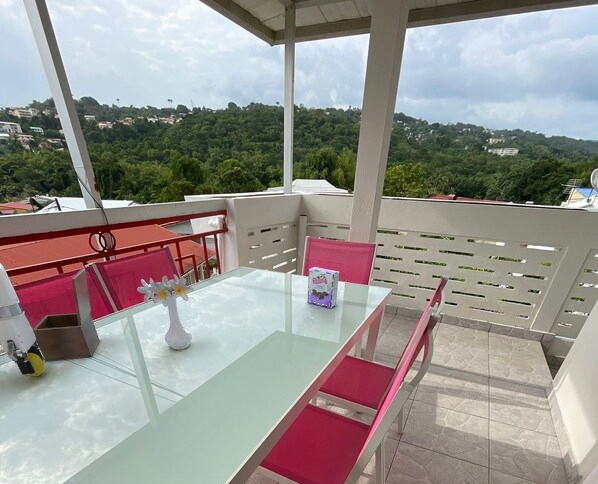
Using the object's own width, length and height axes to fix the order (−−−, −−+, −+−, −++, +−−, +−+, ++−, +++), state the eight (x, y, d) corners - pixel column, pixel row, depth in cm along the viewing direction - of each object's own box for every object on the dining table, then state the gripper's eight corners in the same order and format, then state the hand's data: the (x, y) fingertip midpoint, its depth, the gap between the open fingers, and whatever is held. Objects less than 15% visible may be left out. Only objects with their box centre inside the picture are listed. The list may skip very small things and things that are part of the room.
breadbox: (45, 361, 109) (31, 330, 103) (57, 344, 120) (45, 315, 114) (91, 357, 113) (80, 326, 106) (99, 340, 123) (90, 312, 117)
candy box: (306, 302, 165) (308, 268, 156) (313, 299, 169) (314, 266, 160) (330, 308, 159) (333, 273, 150) (336, 305, 163) (339, 270, 154)
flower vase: (161, 337, 127) (145, 270, 113) (208, 340, 126) (198, 272, 112) (145, 353, 116) (125, 280, 102) (196, 356, 115) (184, 282, 101)
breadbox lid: (70, 278, 98) (74, 279, 99) (82, 267, 109) (85, 268, 110) (78, 325, 106) (81, 325, 106) (88, 310, 117) (91, 311, 117)
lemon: (33, 372, 103) (21, 348, 99) (52, 371, 104) (41, 348, 100) (23, 381, 99) (10, 357, 94) (42, 380, 100) (31, 356, 95)
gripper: (3, 301, 96) (30, 355, 106) (-27, 323, 82) (7, 383, 92) (33, 299, 97) (56, 353, 108) (8, 320, 84) (38, 380, 94)
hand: (33, 366), depth 100 cm, fingers open, 7 cm apart
